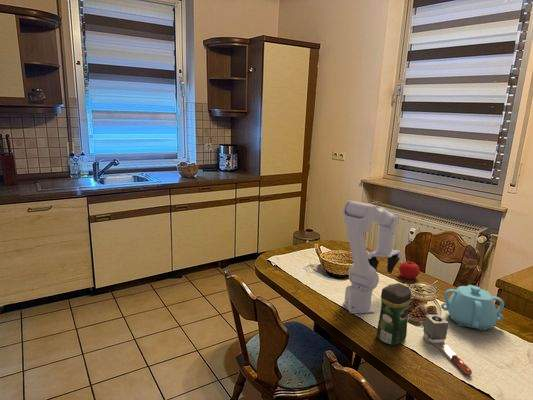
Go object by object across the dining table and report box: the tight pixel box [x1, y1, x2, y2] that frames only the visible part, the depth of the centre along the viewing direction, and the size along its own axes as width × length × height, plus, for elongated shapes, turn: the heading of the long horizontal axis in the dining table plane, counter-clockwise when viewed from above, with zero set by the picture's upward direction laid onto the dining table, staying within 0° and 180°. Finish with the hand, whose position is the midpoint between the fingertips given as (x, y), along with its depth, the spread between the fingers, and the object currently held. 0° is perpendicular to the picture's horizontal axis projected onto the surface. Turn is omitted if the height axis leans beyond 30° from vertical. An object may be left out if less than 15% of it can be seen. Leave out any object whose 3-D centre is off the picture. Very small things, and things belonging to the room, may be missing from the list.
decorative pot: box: [440, 284, 505, 331], centre depth 132 cm, size 16×16×14 cm
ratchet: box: [422, 331, 473, 376], centre depth 114 cm, size 21×6×4 cm, turn 8°
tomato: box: [398, 260, 420, 280], centre depth 168 cm, size 9×9×8 cm
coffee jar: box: [376, 282, 412, 346], centre depth 119 cm, size 10×8×19 cm
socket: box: [422, 314, 449, 340], centre depth 121 cm, size 5×5×6 cm
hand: (381, 273), depth 149 cm, fingers open, 7 cm apart
